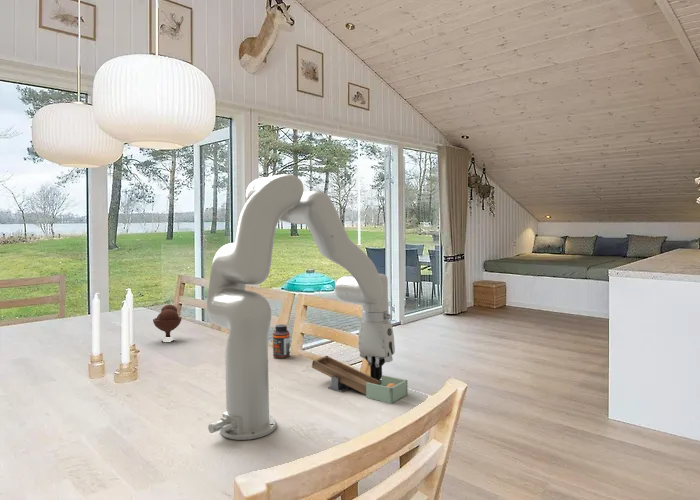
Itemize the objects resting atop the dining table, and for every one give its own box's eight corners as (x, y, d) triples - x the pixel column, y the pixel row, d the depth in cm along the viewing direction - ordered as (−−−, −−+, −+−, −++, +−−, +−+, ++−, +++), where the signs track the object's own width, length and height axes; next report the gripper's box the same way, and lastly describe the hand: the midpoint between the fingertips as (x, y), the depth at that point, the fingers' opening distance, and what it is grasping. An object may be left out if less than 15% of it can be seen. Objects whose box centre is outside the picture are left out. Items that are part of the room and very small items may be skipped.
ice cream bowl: (152, 339, 197) (151, 304, 197) (181, 337, 202) (180, 302, 201) (154, 345, 188) (152, 308, 187) (183, 342, 192) (182, 305, 192)
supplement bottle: (269, 357, 168) (269, 326, 167) (279, 353, 173) (279, 323, 172) (283, 359, 165) (282, 327, 164) (293, 355, 170) (292, 324, 170)
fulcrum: (341, 392, 131) (341, 379, 131) (327, 388, 134) (327, 376, 134) (361, 383, 139) (360, 371, 138) (347, 380, 142) (347, 368, 141)
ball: (381, 394, 126) (392, 400, 124) (384, 382, 126) (395, 388, 124) (388, 391, 129) (399, 396, 127) (391, 379, 129) (402, 385, 127)
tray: (391, 403, 122) (391, 388, 122) (366, 397, 127) (366, 382, 127) (407, 394, 128) (407, 380, 128) (382, 389, 133) (382, 375, 133)
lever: (365, 394, 128) (367, 387, 128) (311, 367, 140) (312, 360, 139) (385, 384, 136) (386, 377, 136) (333, 359, 148) (334, 353, 147)
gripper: (404, 317, 134) (405, 380, 135) (361, 312, 143) (362, 371, 144) (390, 321, 128) (391, 388, 129) (346, 316, 137) (348, 378, 138)
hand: (376, 379), depth 136 cm, fingers closed
